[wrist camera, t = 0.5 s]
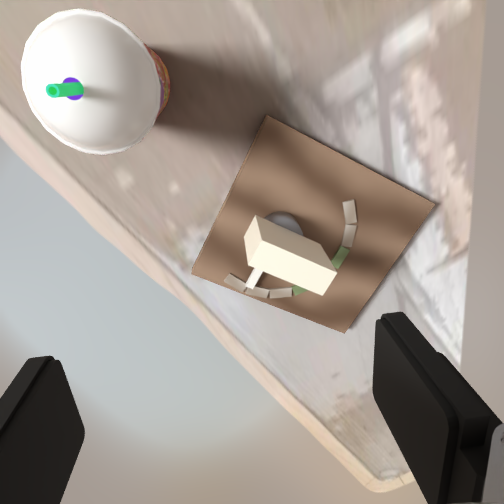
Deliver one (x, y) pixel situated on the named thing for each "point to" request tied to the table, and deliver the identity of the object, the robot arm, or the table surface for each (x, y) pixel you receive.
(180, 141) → the table surface
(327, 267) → the pointer knob
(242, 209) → the tuner board
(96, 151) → the smoothie
